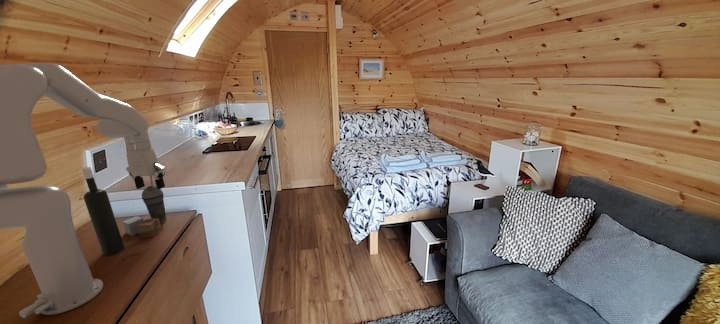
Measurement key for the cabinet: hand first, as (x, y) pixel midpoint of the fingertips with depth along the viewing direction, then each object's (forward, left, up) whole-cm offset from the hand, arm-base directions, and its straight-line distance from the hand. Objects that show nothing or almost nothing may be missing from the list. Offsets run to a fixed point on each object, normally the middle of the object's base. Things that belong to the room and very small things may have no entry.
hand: (151, 187), depth 118 cm
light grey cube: (-8, +3, -15) cm, 17 cm away
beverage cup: (0, 0, -15) cm, 15 cm away
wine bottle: (-21, -2, -15) cm, 26 cm away
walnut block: (-9, -5, -15) cm, 18 cm away
